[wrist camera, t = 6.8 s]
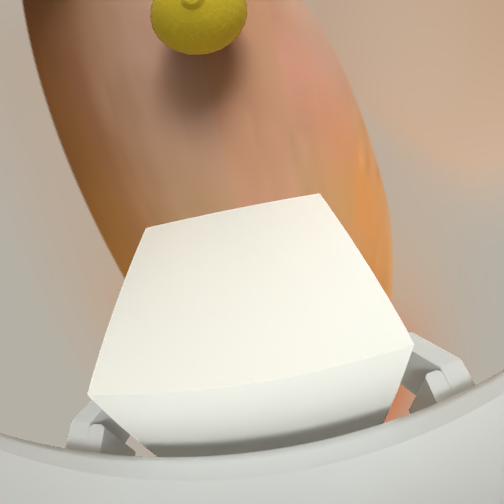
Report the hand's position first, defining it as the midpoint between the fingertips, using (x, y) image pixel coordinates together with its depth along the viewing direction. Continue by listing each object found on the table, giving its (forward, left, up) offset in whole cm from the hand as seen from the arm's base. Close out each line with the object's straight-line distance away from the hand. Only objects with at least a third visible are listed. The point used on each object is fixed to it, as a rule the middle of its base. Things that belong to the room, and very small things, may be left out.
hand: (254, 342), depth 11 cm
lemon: (-13, 0, -16) cm, 20 cm away
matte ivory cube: (0, 0, -4) cm, 4 cm away
